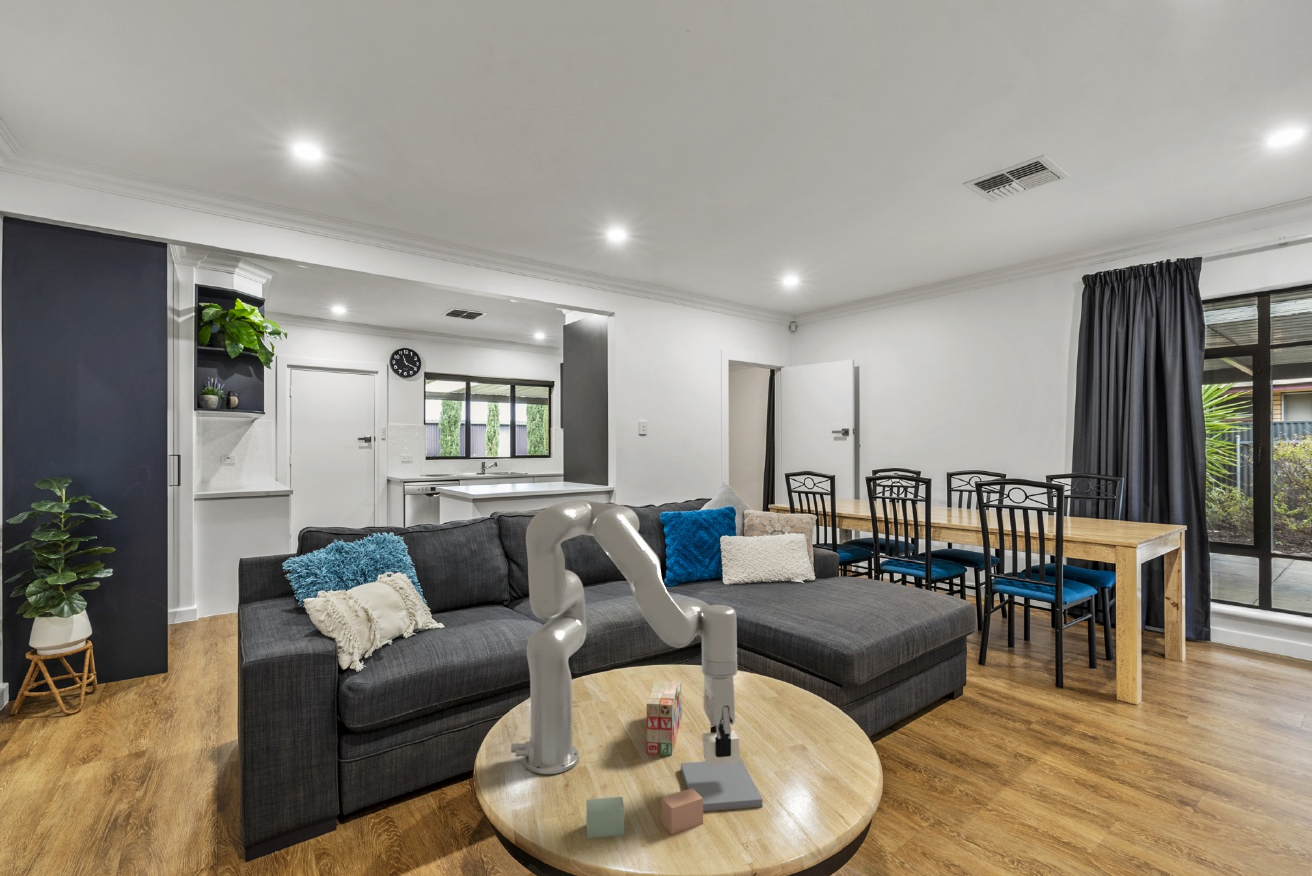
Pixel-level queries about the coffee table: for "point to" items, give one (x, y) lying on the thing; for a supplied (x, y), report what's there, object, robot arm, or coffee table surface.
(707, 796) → the slate board
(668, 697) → the stack of blocks
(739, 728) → the coffee table surface
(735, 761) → the ivory brick
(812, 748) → the coffee table surface
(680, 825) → the terracotta brick
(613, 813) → the sage brick
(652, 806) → the coffee table surface
